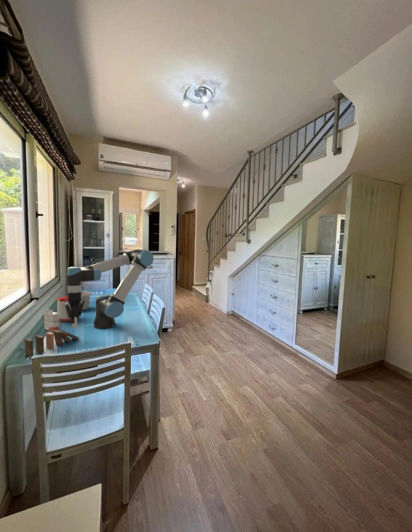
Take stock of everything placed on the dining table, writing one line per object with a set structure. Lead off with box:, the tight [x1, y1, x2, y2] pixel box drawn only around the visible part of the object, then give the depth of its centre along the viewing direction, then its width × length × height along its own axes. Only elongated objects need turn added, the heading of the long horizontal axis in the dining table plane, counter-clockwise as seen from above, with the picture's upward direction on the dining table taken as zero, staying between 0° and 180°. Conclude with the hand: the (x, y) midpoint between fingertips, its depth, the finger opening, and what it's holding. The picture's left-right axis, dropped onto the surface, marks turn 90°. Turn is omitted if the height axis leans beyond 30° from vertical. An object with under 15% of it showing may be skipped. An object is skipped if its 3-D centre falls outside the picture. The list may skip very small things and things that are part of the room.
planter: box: [79, 290, 91, 311], centre depth 215 cm, size 17×17×15 cm
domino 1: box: [24, 338, 34, 357], centre depth 133 cm, size 2×5×9 cm, turn 62°
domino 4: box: [52, 329, 64, 347], centre depth 147 cm, size 2×5×9 cm, turn 62°
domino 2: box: [35, 334, 45, 354], centre depth 138 cm, size 2×5×9 cm, turn 62°
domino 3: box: [45, 331, 55, 350], centre depth 143 cm, size 2×5×9 cm, turn 62°
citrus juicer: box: [56, 294, 71, 322], centre depth 191 cm, size 16×17×20 cm
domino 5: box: [58, 329, 72, 344], centre depth 150 cm, size 2×5×9 cm
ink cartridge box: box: [43, 308, 60, 332], centre depth 170 cm, size 9×5×15 cm, turn 69°
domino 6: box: [63, 330, 80, 340], centre depth 154 cm, size 2×5×9 cm
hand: (74, 327), depth 156 cm, fingers closed
